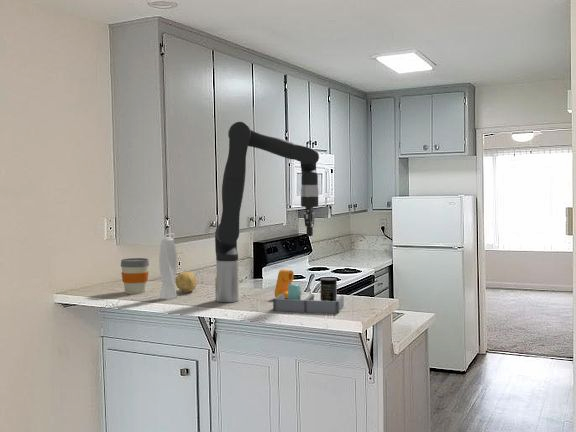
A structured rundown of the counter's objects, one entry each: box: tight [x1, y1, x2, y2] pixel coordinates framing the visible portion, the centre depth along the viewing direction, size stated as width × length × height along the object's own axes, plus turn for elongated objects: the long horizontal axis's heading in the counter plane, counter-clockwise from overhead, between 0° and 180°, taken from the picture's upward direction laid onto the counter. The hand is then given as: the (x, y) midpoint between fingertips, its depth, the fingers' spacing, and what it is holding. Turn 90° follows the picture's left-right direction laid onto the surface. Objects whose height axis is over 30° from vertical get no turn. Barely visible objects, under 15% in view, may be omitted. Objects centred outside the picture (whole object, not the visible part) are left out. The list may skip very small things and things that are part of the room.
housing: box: [272, 283, 345, 314], centre depth 245 cm, size 14×26×9 cm, turn 77°
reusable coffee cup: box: [120, 257, 150, 295], centre depth 284 cm, size 13×12×15 cm
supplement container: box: [319, 277, 338, 301], centre depth 254 cm, size 7×7×10 cm
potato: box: [175, 270, 198, 293], centre depth 285 cm, size 10×14×10 cm
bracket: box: [274, 269, 295, 299], centre depth 270 cm, size 11×7×12 cm, turn 147°
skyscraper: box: [158, 232, 178, 301], centre depth 268 cm, size 8×8×28 cm
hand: (309, 235), depth 267 cm, fingers closed
